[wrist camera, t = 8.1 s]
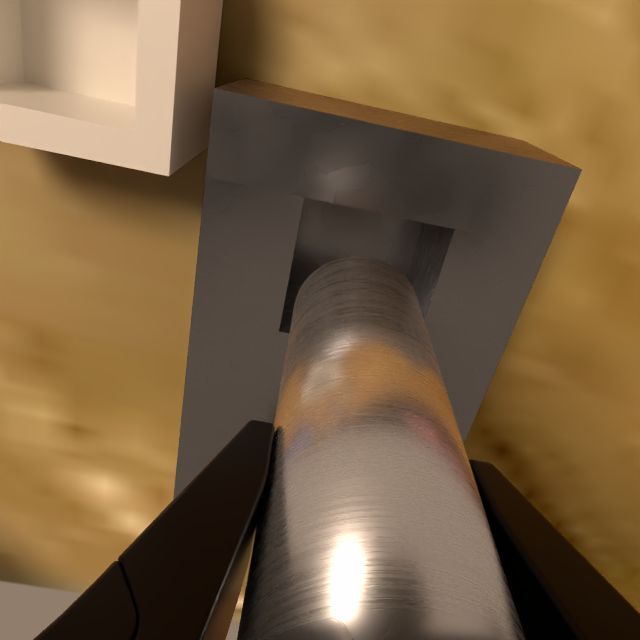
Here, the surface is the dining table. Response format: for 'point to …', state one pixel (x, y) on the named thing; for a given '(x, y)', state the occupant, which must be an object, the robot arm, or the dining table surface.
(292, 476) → the silver metal cylinder
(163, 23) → the white open box
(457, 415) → the socket block
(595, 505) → the dining table surface
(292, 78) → the dining table surface
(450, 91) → the dining table surface
